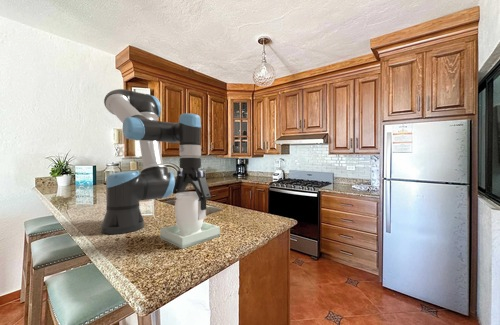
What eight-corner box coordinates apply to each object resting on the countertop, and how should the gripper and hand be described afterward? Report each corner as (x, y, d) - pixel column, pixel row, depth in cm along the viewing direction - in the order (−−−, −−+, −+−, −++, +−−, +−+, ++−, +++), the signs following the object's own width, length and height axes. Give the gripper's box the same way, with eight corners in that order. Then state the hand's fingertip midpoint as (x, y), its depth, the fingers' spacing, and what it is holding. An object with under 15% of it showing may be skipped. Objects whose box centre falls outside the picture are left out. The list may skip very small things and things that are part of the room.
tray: (160, 238, 78) (160, 228, 78) (196, 228, 89) (196, 219, 89) (182, 249, 68) (182, 237, 68) (219, 236, 80) (219, 226, 80)
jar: (196, 240, 73) (196, 195, 73) (168, 238, 75) (168, 194, 75) (209, 230, 83) (209, 191, 83) (184, 228, 85) (184, 190, 85)
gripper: (163, 157, 84) (163, 212, 84) (202, 156, 68) (203, 224, 68) (180, 157, 90) (181, 209, 90) (221, 156, 73) (221, 219, 73)
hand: (190, 216), depth 79 cm, fingers open, 13 cm apart
